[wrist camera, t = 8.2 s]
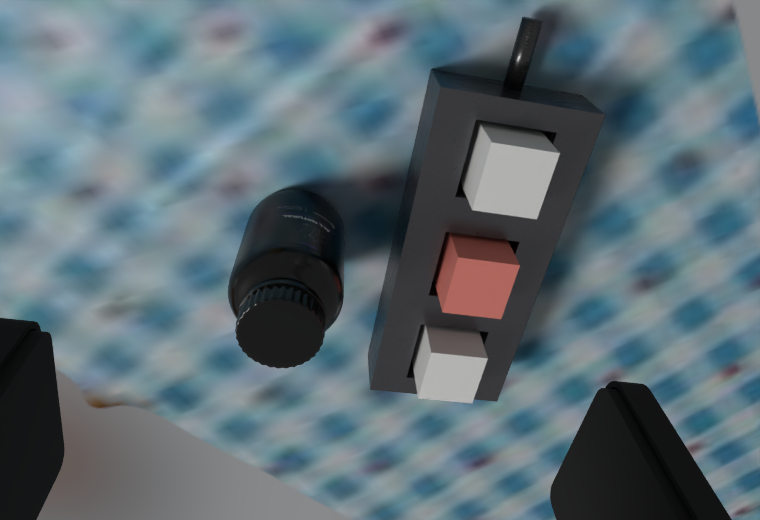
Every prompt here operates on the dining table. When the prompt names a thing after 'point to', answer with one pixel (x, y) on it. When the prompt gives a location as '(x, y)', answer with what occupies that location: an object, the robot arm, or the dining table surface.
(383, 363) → the push button control box
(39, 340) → the robot arm
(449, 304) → the button
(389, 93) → the dining table surface
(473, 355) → the button
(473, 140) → the button
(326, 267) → the supplement bottle
